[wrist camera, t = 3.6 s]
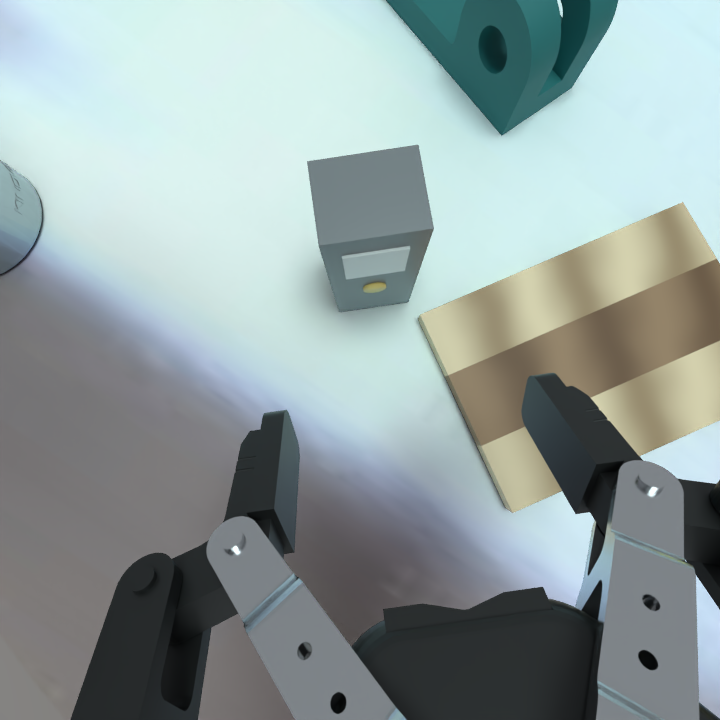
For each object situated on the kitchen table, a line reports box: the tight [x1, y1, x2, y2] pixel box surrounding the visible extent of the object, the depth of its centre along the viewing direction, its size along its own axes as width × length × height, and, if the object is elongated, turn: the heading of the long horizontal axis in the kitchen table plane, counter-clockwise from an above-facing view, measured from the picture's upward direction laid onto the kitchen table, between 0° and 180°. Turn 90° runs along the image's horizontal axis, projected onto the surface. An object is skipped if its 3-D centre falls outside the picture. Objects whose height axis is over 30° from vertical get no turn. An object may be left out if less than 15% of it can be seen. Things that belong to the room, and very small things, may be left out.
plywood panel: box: [418, 202, 720, 513], centre depth 26 cm, size 20×14×1 cm
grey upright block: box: [307, 145, 434, 312], centre depth 22 cm, size 5×4×11 cm
